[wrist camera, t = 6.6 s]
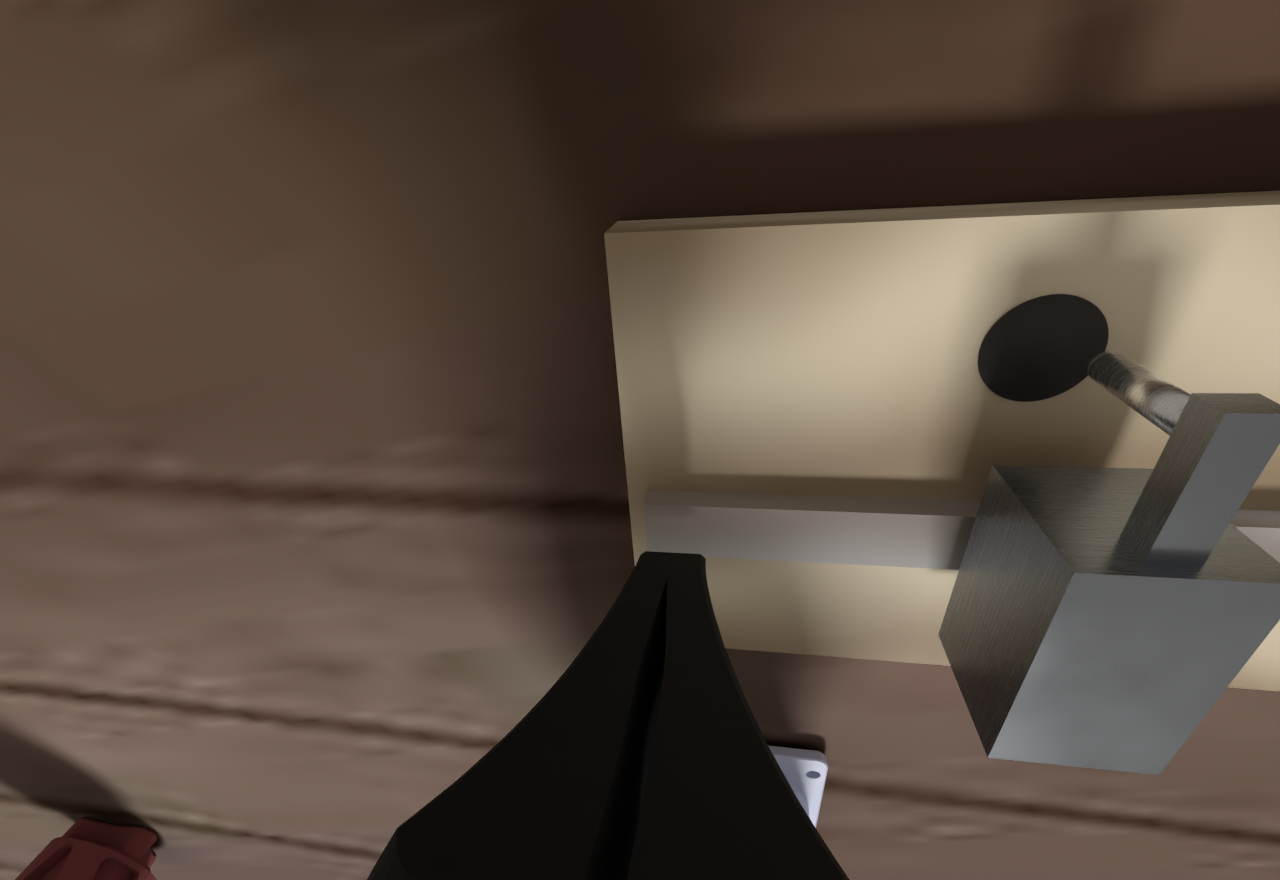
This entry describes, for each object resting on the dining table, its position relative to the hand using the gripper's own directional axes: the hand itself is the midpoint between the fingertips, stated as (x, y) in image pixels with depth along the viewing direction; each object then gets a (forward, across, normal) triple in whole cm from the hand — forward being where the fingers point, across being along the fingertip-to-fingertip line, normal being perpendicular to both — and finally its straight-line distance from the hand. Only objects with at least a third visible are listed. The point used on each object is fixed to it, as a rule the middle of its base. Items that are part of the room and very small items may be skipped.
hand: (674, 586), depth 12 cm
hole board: (+4, -10, -1) cm, 11 cm away
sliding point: (+2, -8, -1) cm, 8 cm away
